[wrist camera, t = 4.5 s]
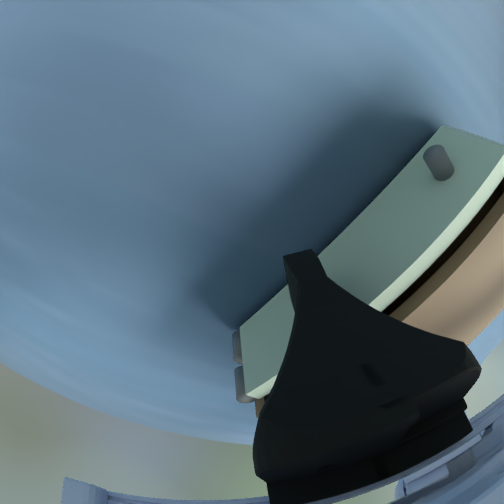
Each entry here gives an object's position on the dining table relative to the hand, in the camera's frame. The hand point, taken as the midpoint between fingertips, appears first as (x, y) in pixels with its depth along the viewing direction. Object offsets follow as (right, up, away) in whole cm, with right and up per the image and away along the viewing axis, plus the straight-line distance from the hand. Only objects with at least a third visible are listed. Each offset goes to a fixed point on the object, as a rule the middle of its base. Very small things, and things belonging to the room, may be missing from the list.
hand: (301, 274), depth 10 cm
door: (+2, +2, +2) cm, 3 cm away
